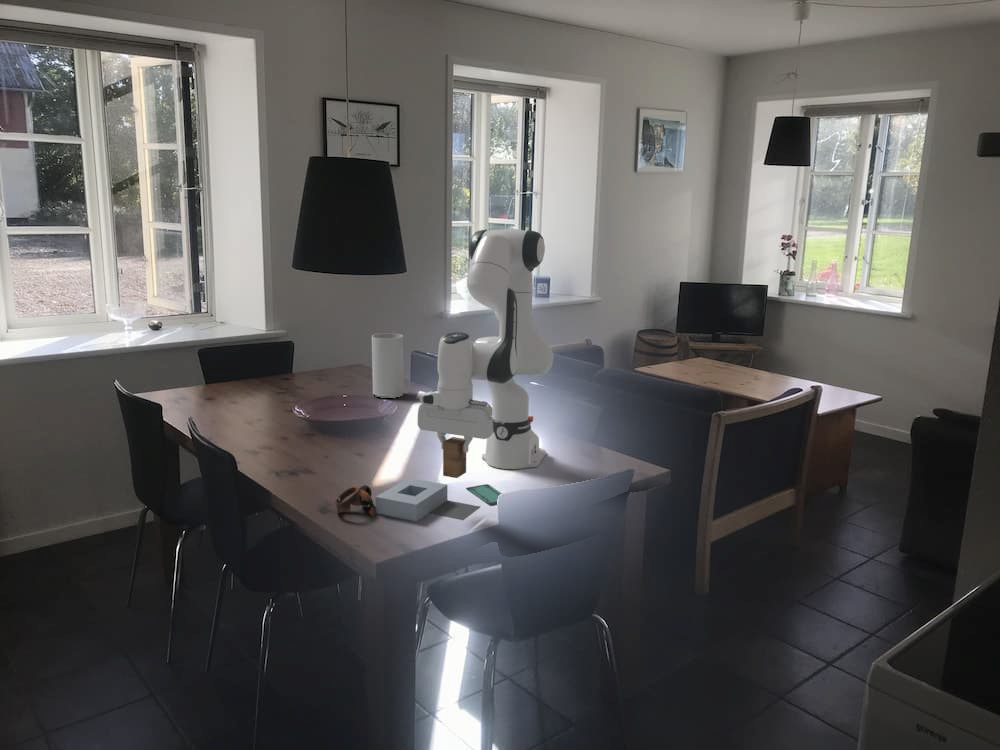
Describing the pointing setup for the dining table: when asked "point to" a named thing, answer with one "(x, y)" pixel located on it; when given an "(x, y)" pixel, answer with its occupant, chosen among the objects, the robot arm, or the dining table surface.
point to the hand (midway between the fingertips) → (454, 450)
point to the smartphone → (485, 493)
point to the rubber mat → (454, 510)
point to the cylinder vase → (387, 364)
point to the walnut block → (453, 458)
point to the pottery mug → (355, 499)
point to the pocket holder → (411, 499)
